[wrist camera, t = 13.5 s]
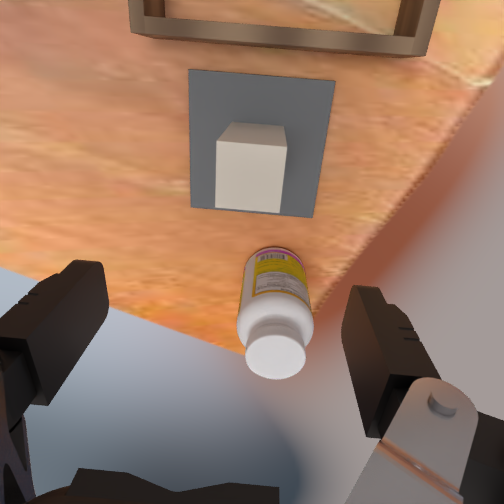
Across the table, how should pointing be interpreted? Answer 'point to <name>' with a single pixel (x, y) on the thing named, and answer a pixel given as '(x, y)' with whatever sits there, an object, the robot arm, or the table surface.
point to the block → (250, 167)
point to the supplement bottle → (274, 313)
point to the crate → (293, 32)
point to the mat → (259, 112)
